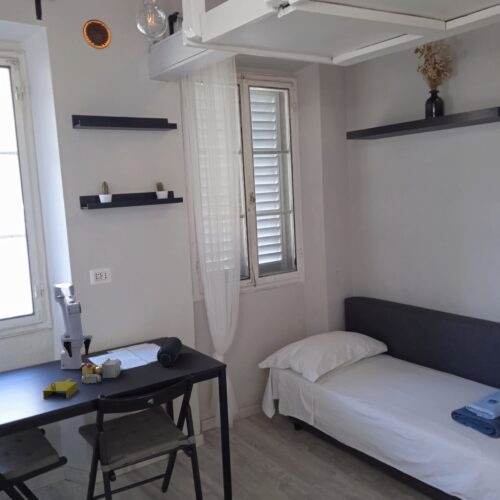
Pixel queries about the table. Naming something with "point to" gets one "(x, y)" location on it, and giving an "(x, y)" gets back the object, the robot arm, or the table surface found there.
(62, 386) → the bracket
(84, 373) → the valve
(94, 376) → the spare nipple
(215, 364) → the table surface
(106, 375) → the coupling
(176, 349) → the portable speaker
